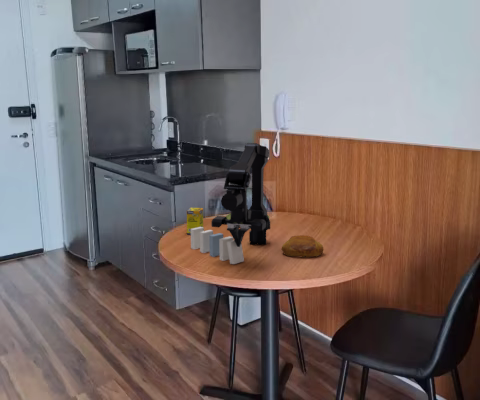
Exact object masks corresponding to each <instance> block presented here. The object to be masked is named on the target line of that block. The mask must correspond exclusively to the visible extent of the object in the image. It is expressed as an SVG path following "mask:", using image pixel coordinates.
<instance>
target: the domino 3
mask: <svg viewBox="0 0 480 400" xmlns="http://www.w3.org/2000/svg"><path fill="white" fill-rule="evenodd" d="M209 237H210V252H209V256H210V257H212V258H215V257H218V256H219V257H220V249H219V239H221V238H224V233H221V232H219V233H213V235H209Z"/></svg>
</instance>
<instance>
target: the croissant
mask: <svg viewBox="0 0 480 400" xmlns="http://www.w3.org/2000/svg"><path fill="white" fill-rule="evenodd" d="M281 252H282V253H283V254H284V255H285V256H287V257H295V256H302V257H301V258H311V257H310V256H316V257H318V255H319V256H322V254H321V253H323V252H324V246H323V243H321V242H320V241H317V240H316V239H315V238H314V237H312V236H309V235H307V234H306V235H304V234H303V235H294V236H290V237H289V239H288V240H286V242H285V243H283V244H282V246H281ZM304 256H306V257H304Z"/></svg>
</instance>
